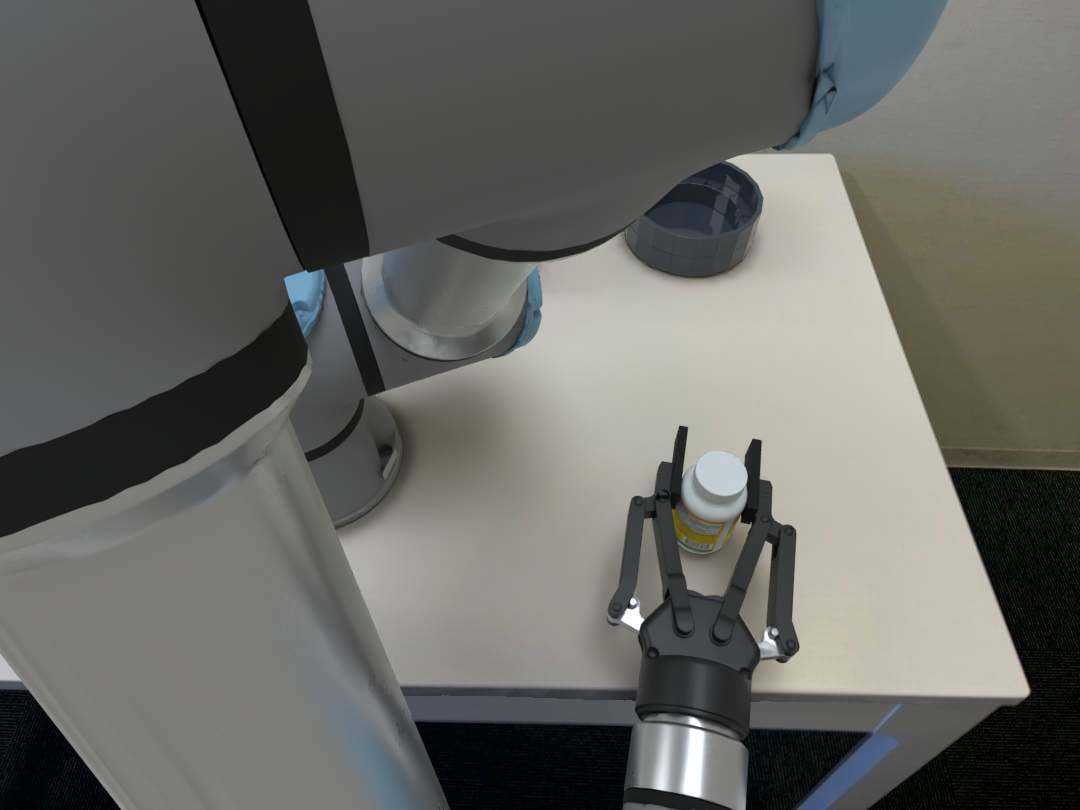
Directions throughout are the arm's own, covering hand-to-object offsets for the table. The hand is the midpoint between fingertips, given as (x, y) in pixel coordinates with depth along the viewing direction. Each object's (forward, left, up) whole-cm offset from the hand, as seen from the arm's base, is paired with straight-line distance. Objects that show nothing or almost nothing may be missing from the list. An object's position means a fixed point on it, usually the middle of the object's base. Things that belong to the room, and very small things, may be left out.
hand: (716, 441), depth 59 cm
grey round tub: (-25, +24, -7) cm, 35 cm away
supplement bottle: (+3, -4, -6) cm, 8 cm away
